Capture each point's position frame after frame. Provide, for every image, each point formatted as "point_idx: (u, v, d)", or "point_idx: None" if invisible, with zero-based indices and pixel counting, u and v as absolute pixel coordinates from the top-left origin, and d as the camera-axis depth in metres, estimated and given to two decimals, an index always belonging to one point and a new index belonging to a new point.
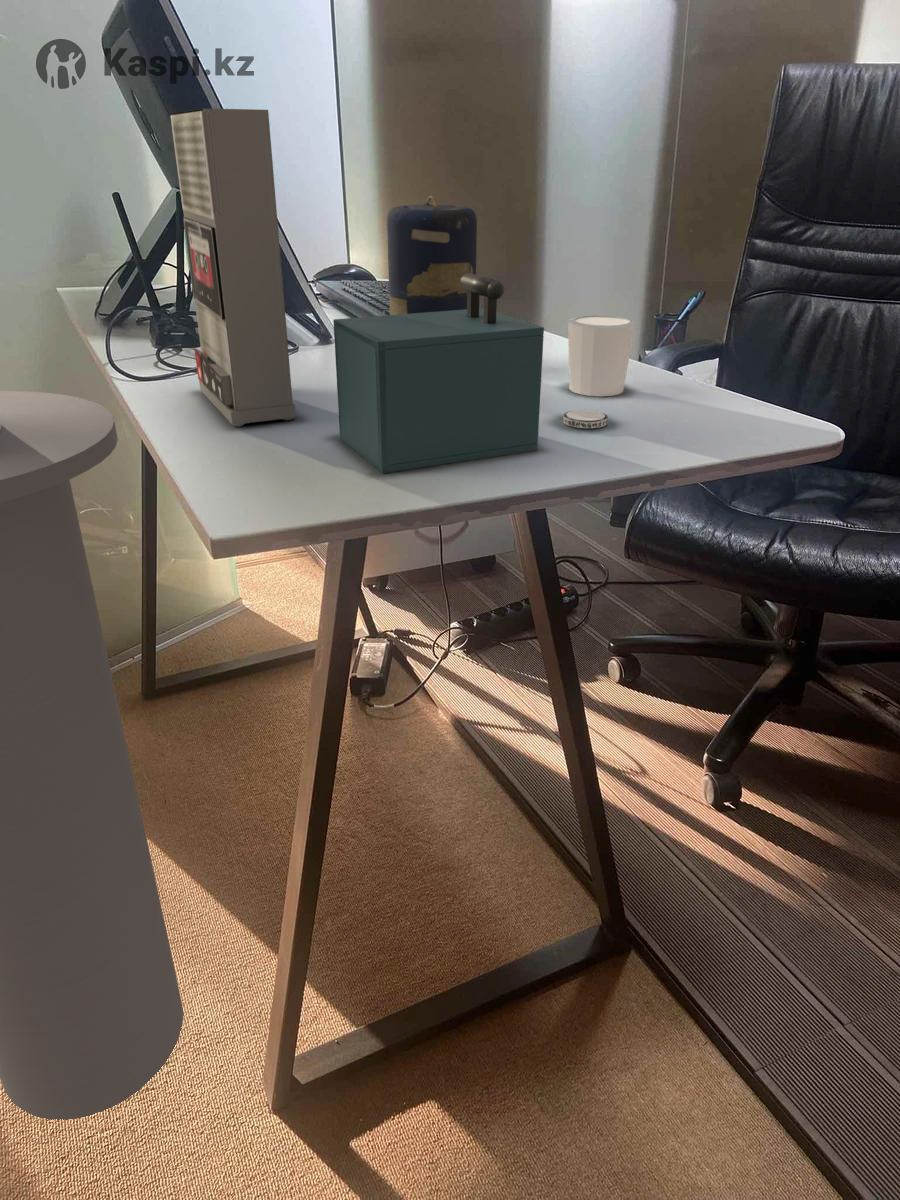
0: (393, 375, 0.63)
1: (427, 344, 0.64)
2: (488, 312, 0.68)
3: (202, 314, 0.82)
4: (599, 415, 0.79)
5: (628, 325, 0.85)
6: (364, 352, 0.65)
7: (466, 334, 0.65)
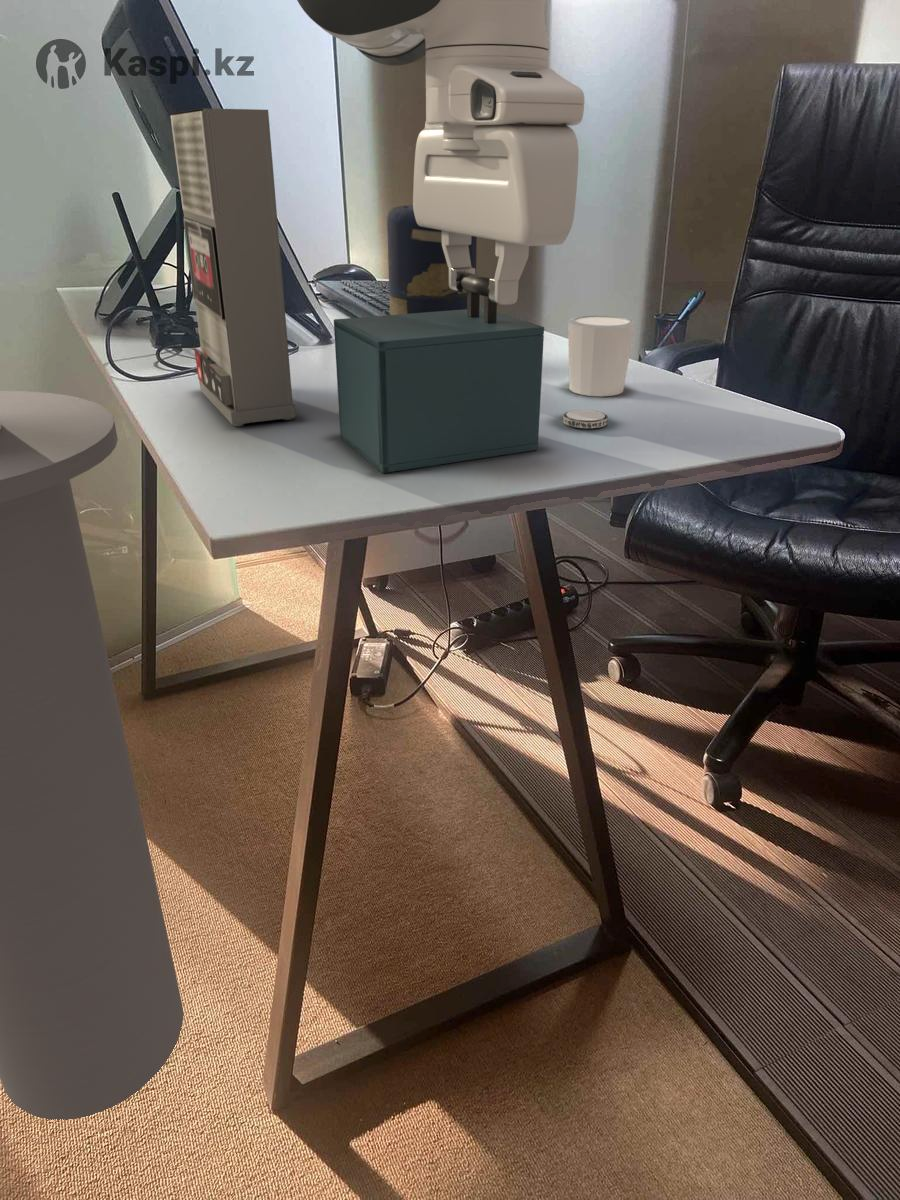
0: (394, 375, 0.63)
1: (428, 344, 0.64)
2: (488, 312, 0.68)
3: (202, 314, 0.82)
4: (599, 415, 0.79)
5: (628, 325, 0.85)
6: (364, 352, 0.65)
7: (466, 334, 0.65)
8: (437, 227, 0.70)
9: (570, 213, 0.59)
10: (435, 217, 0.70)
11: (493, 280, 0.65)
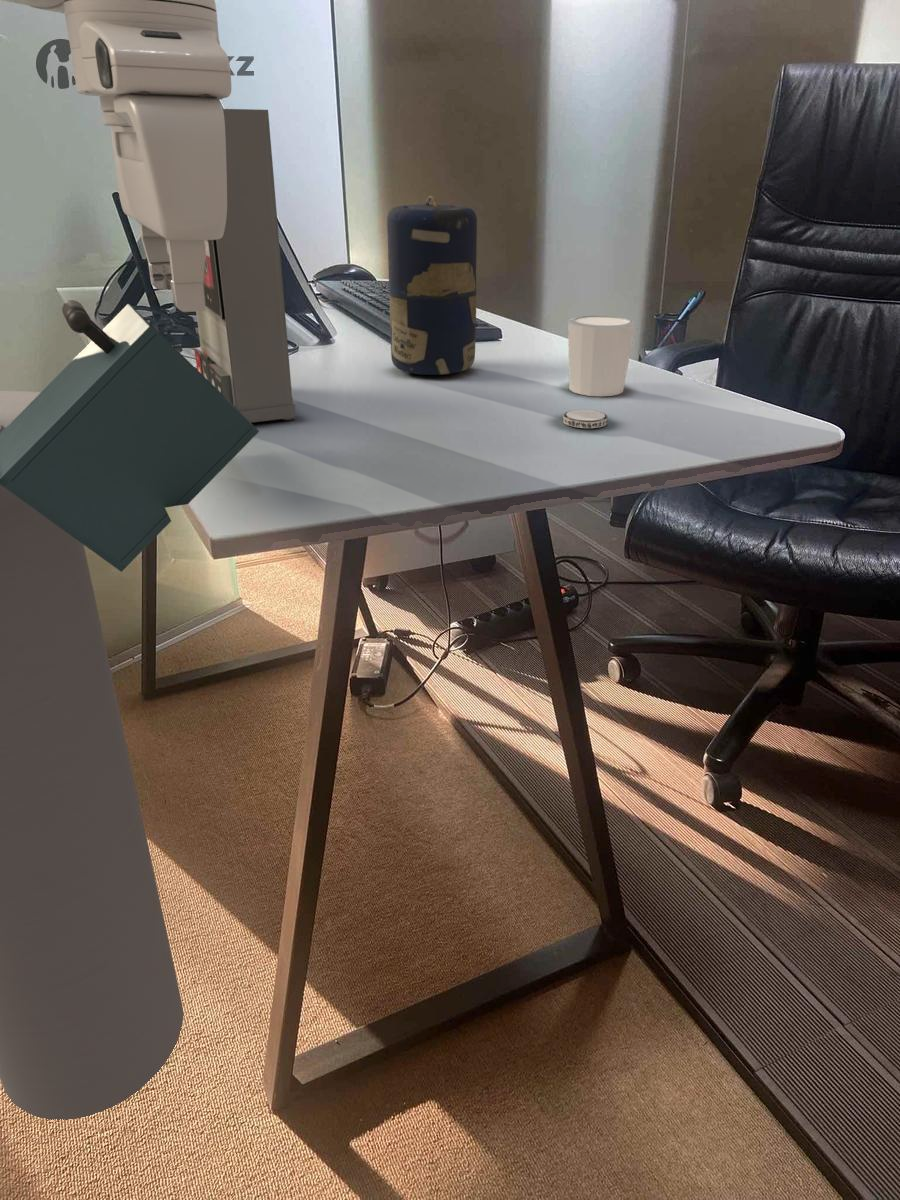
0: (43, 494, 0.56)
1: (46, 443, 0.55)
2: (97, 343, 0.57)
3: (202, 314, 0.82)
4: (598, 415, 0.79)
5: (628, 325, 0.85)
6: None
7: (76, 401, 0.55)
8: (131, 217, 0.61)
9: (220, 202, 0.49)
10: (127, 205, 0.60)
11: (172, 282, 0.55)
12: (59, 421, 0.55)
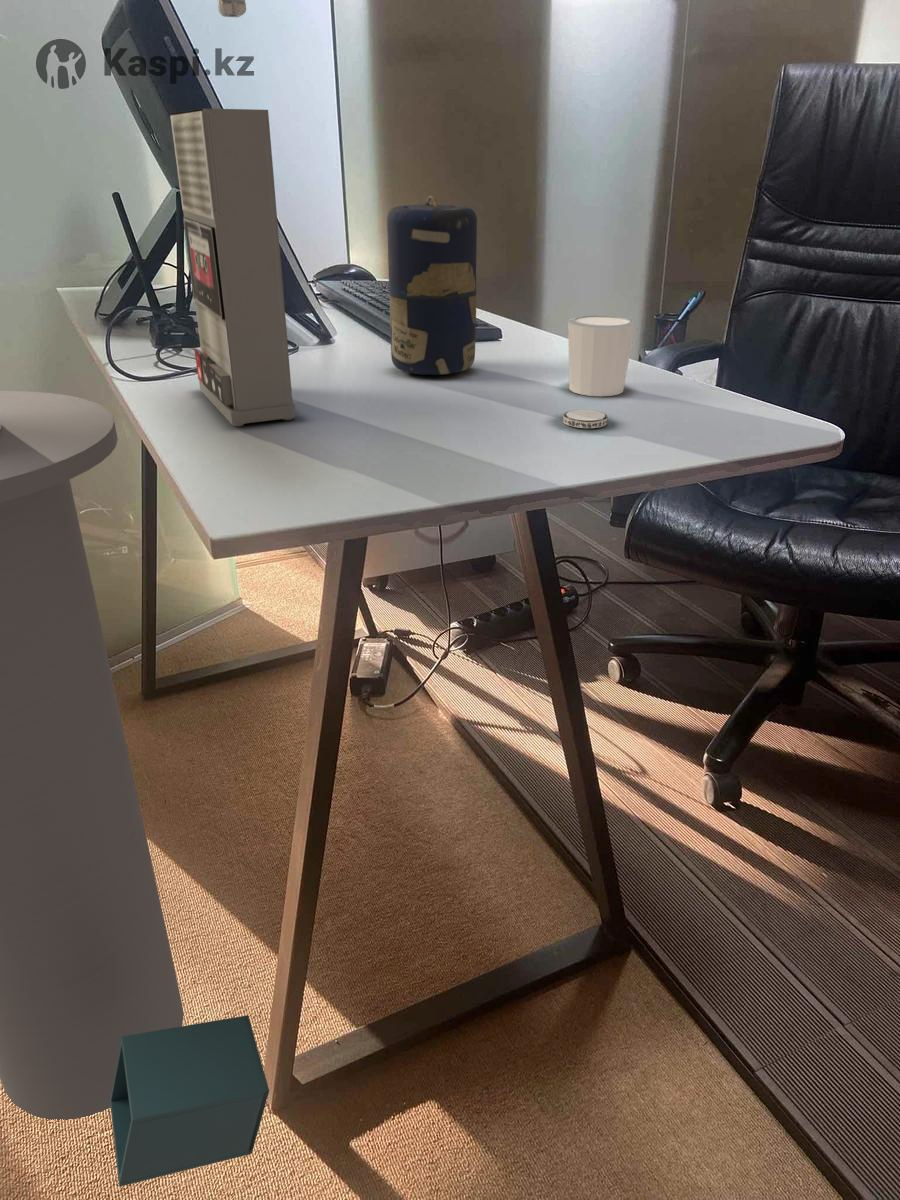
0: (245, 1141, 0.94)
1: (217, 1159, 0.93)
2: None
3: (202, 314, 0.82)
4: (599, 415, 0.79)
5: (628, 325, 0.85)
6: None
7: (185, 1169, 0.92)
8: None
9: None
10: None
11: None
12: (201, 1165, 0.92)
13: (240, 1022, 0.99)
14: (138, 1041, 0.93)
